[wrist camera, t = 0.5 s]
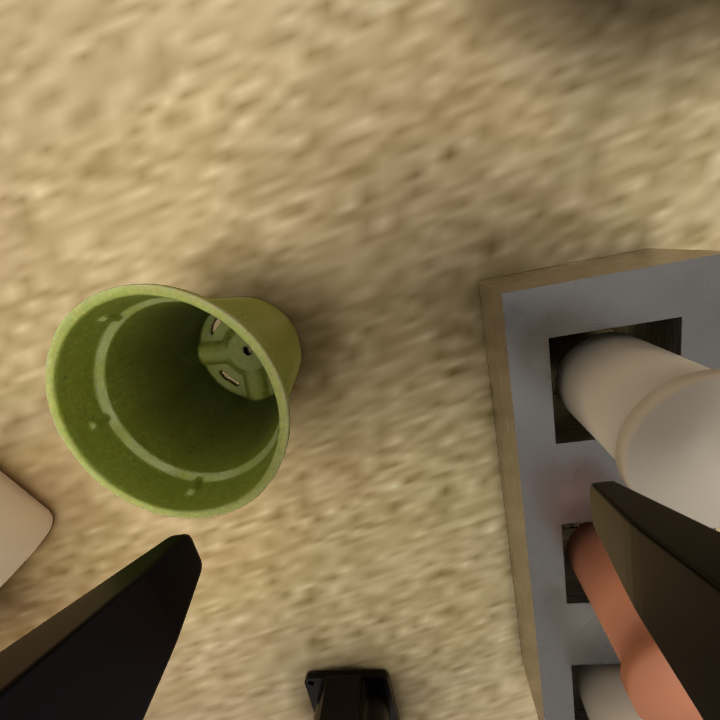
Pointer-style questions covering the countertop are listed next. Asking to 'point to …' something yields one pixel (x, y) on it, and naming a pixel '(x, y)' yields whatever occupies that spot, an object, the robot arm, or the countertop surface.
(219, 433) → the plant pot
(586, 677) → the ivory plug far
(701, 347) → the socket block
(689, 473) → the ivory plug near
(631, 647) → the rust plug
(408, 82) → the countertop surface
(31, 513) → the white plastic jug
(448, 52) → the countertop surface
